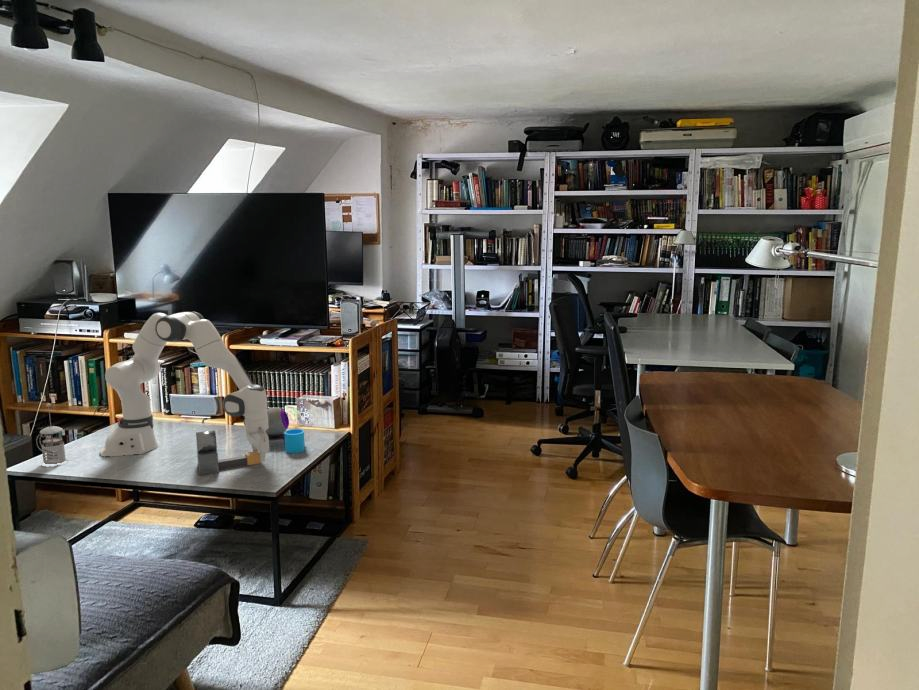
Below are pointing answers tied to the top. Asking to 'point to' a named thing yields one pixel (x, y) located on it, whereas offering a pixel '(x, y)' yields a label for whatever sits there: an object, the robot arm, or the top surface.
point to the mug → (294, 441)
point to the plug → (240, 460)
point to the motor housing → (207, 452)
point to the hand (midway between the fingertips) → (258, 457)
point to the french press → (56, 452)
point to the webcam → (277, 425)
